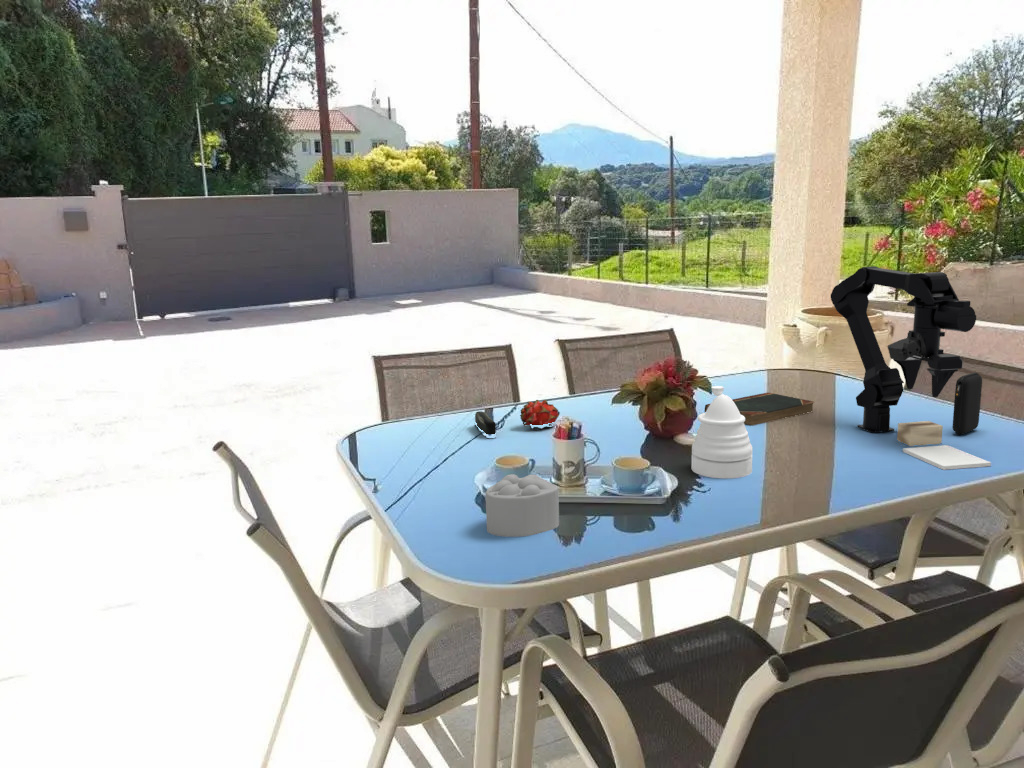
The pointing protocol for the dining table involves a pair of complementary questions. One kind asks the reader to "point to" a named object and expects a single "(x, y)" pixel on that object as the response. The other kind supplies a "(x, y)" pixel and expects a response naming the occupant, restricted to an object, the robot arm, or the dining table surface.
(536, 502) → the lumpy-topped squat cylinder
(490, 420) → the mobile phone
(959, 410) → the carrying case or bag
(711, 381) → the dining table surface
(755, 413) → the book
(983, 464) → the mat
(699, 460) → the honey pot
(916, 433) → the tan rectangular block
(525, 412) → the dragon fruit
